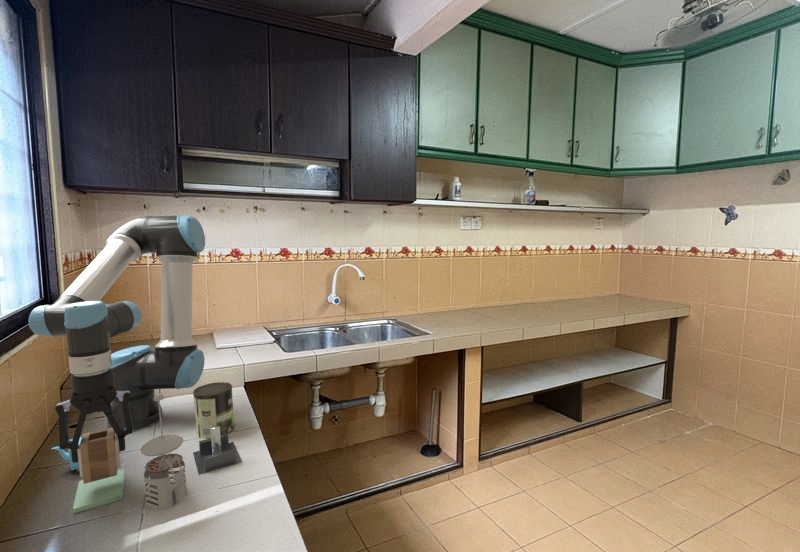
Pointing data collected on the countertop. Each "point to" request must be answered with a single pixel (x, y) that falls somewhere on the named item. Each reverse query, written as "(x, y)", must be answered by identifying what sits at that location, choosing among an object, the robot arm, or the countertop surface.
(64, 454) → the teapot
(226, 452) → the peg stand
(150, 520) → the countertop surface
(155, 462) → the french press
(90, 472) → the sleeve
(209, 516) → the countertop surface
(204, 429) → the coffee can
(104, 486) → the board
